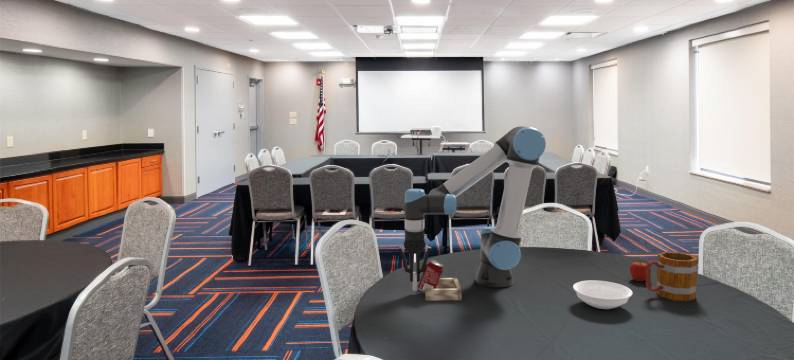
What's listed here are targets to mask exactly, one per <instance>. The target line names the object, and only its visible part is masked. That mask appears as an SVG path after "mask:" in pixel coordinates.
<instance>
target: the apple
mask: <svg viewBox="0 0 794 360" xmlns="http://www.w3.org/2000/svg"><path fill="white" fill-rule="evenodd" d="M646 266H647V263H646V262H641V261H635V262H632V263H631V264H630V266H629V274H630V276H631V278H632V279H633V280H634V281H637V282H646ZM651 272H652V269H651V268H650V274H651Z"/></svg>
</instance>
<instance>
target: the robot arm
mask: <svg viewBox="0 0 794 360" xmlns="http://www.w3.org/2000/svg"><path fill="white" fill-rule="evenodd" d="M546 144H547V142H546V139H545V136H544V134H543V133H542V131H540V130H538V129H537V128H535V127H532V126H524V125H523V126H522V125H521V126H520V125H519V126H516V127H513V128H511V129H510V130H509V131H507V133H505V134H504V135H503V136H502V137H500V138H499V139H498V140H497V141H494V143H493V147H492V148H490V149H488V150H487V151H486V152H484V153H483V154H482V155H479V157H478V158H476V159H475V160H473V161H472V162H471V163H469V164H468V165H466V166H465V167H464V168H462V169H461V170H460V171H458V172H457V173H456V174H454V175H453V176H452V177H450V178H449V179H447V180H446V181H445V182H444V183H442V184H441V185H439V186H438V187H436V188H433V189H431V190H430V191H429V193H428V194H426V192H425V189H422V188H409V189H406V190H405V191H404V229H405V230H404V241H403V245H401V246H398V248H397V250H398V252H399V254H400V255H401V260H402V263H403V266H404V271H405V273H408V274H409V281H410V283H412V291H413V292H415V291H417V290H418V287H417V285H418V283H419V281H420V278H421V275H420V274H421V273H423V272H424V271H425V267H426V265H427V263H428V259H429V255H430V254H431V251H432V247H431V246H428V245H427V243H426V241H425V230H424V229H425V215H453V214H456V212H457V197H459V196H460V195H462V194H463V193H464V192H465V191H467V190H469V188H471V187H472V186H474V185H475V184H477V182H479V181H480V180H482V179H484V178H485V177H487V175H489V174H490V173H491V172H493V171H494V170H496V169H497V168H498V167H500V166H501V165H503V164H504V163H508V165H509V166H508V169H507V175H506V178H505V179H506V180H505V184H504V188H503V193H502V196H501V197H502V198H501V203H500V207H499V211H498V216H497V220H496V221H497V222H496V225H495V226H485V227H482V228H481V229H480V263H479V266H478V270H477V272H476V275H475V282H476V284H478V285H481V286H483V287H486V288H496V289H497V288H500V289H501V288H506V287H507V288H508V287H510V286H512V285H513V284H514V275H513V273H512V270H511V269H513V268H515V267H516V266H517V265H518V264H519V263H520V260H521V259H522V258H521V257H522V251H521V248H520V247H521V241H522V237H523V236H522V235H521V233H520V226H521V222H522V218H523V213H524V210H525V204H526V200H527V195H528V191H529V187H530V183H531V177H532V173H533V169H534V170H535V169H536V168H537V167H538V165H539V161H540V157H542V155H543V154H544V152H545V151H546ZM405 250H406V251H407V253H408V254H409V265H408V263H407V259H406V255H405ZM423 251H424V256H423V260H422V263H421V261H420V260H421V253H422V252H423ZM414 254H415V256H416V257H415V259H416V260H415V262H416V263H415V264H416V266H415V267H416V268H415V271H414Z"/></svg>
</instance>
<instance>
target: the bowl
mask: <svg viewBox="0 0 794 360" xmlns="http://www.w3.org/2000/svg"><path fill="white" fill-rule="evenodd" d="M572 289H573V291H575V293H576V296H577V298H578V299H580V300H581V301H582V302H584V303H586V304H587V305H589V306H591V307H593V308H595V309H603V310H610V309H615V308H618V307H620V306H622V305H625V304H627V303H628V302H629V298H630V297H632V296H633V290H631V289H630V288H629V287H628V286H626V285H623V284H621V283H620V284H619V283H617V282H612V281H607V280H597V279H596V280H594V279H593V280H589V279H588V280H581V281H578V282H575V283H574V284H573V286H572Z"/></svg>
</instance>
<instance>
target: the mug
mask: <svg viewBox="0 0 794 360" xmlns="http://www.w3.org/2000/svg"><path fill="white" fill-rule="evenodd" d="M698 263H699V258H697V257H696V256H695V255H693V254H688V253H683V252H681V251H680V252H679V251H678V252H677V251H663V252H660V253H657V261H655V260H650V261H648V262H647V263H646V264H647V266H646V280H645V286H646V288H647V290H648V291H650V292H655V293H656V294H657V295H658V296H659V297H661V298H665V299H668V300H671V301H677V302H678V301H680V302H691V301H693V300H695V299H697V294H696V286H697V282H698V275H697V274H698V273H697V272H698ZM652 265H655V266H656V267H657V268H656V269H657V270H656V286H654V287H651V279H652V278H651V273H650V268H651V267H652Z"/></svg>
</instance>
